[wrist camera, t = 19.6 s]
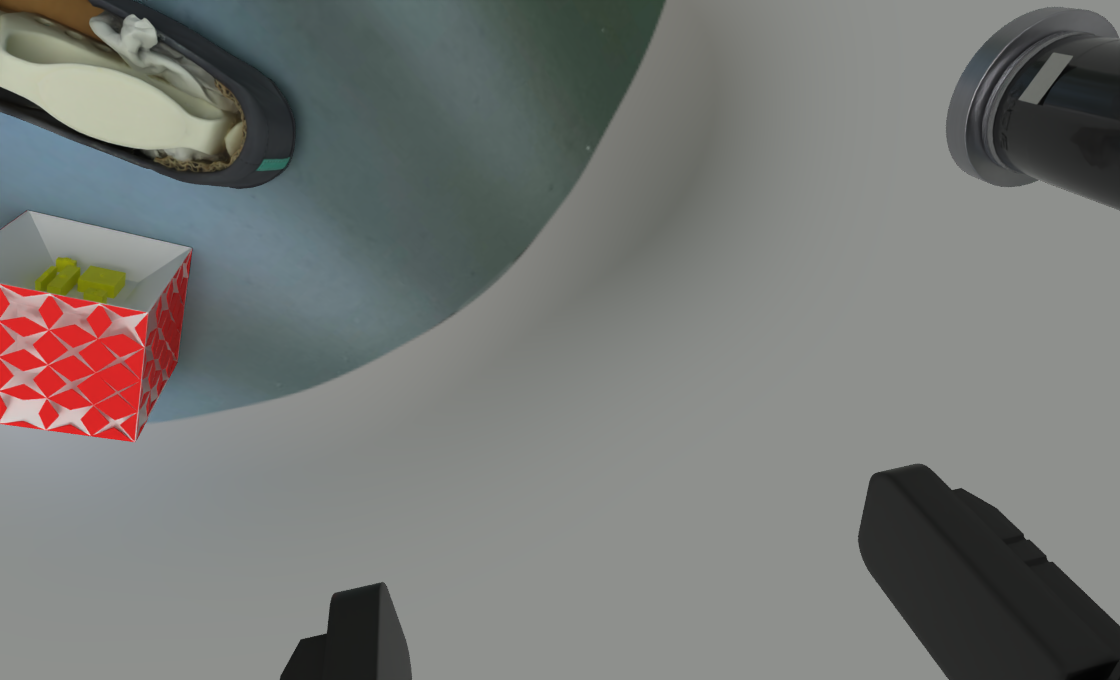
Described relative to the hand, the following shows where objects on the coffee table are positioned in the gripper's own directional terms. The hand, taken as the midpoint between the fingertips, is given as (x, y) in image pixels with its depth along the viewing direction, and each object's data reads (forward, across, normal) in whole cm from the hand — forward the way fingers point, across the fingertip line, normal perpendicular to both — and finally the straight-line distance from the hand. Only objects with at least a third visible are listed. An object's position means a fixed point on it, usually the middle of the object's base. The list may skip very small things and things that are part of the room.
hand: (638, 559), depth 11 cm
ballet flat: (+32, +19, -7) cm, 38 cm away
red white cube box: (+32, +22, +7) cm, 39 cm away
